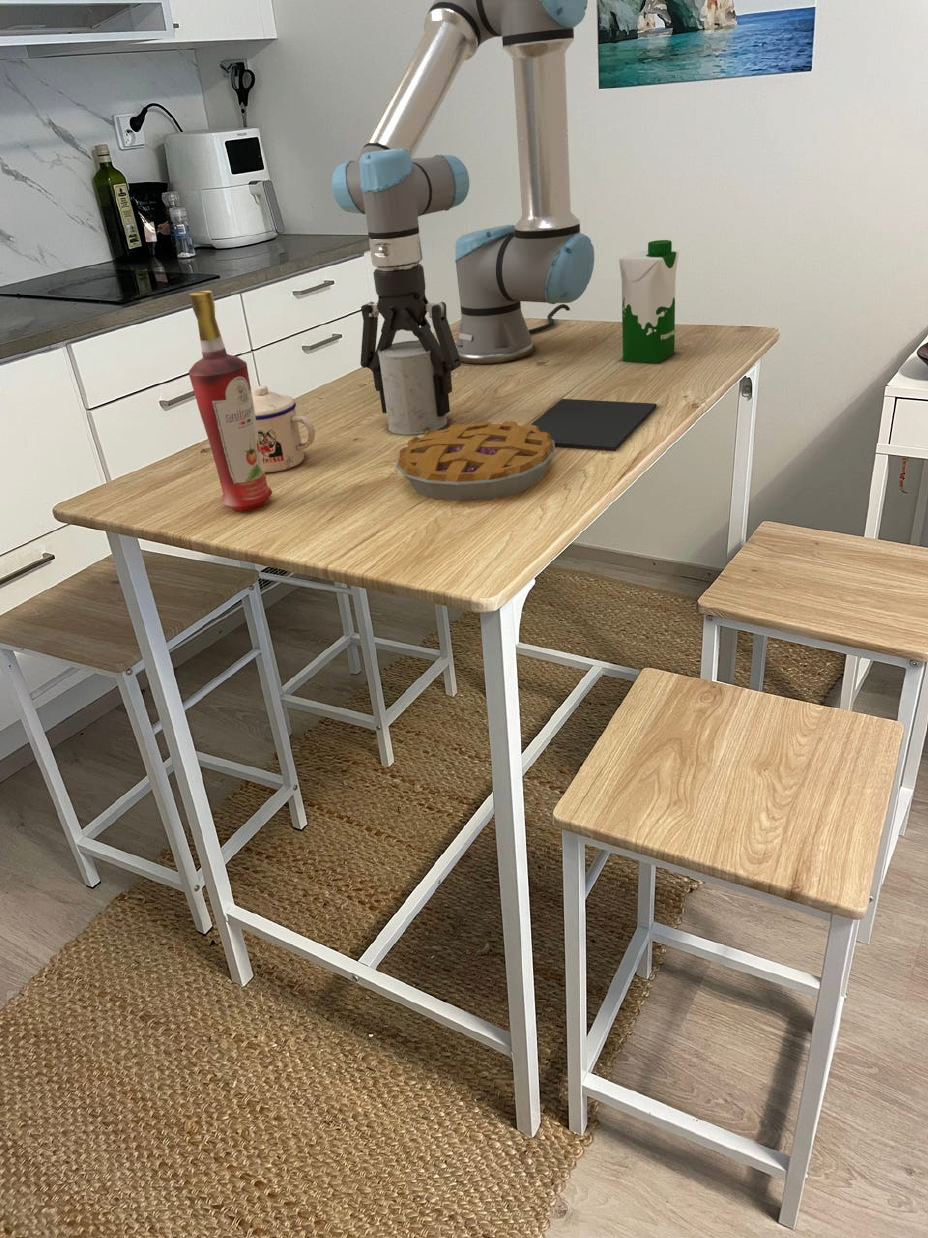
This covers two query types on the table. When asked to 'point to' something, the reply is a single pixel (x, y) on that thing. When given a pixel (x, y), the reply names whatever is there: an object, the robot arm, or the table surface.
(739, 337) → the table surface
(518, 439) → the pie
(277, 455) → the teacup with lid
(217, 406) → the liquor
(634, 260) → the milk carton
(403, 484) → the table surface
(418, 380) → the tin can
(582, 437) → the back mat
